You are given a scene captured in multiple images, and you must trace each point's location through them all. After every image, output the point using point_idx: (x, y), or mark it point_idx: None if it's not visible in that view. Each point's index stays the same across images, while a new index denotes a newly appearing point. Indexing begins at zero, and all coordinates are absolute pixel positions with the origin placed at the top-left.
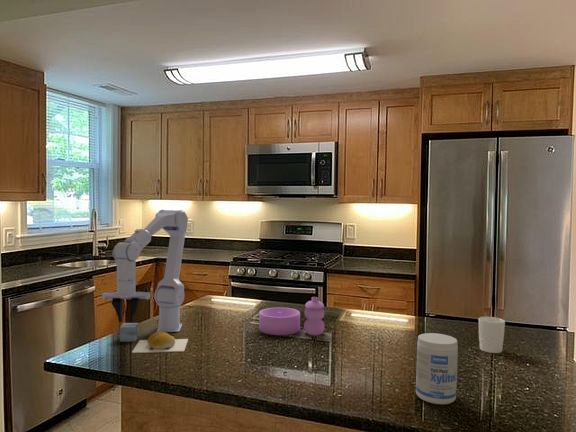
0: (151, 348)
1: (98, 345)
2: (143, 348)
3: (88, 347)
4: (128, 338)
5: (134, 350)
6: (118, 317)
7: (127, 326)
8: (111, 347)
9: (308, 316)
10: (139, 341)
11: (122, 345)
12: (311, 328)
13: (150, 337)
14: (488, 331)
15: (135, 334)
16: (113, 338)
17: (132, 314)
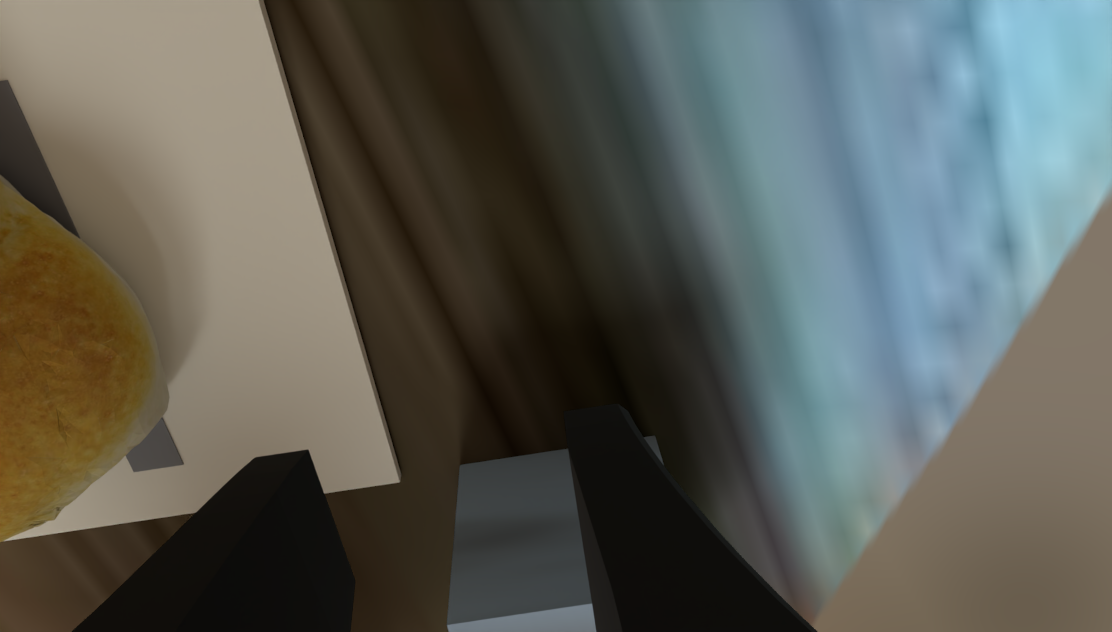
0: (13, 160)
1: (896, 281)
2: (149, 156)
3: (1017, 191)
4: (547, 479)
5: (243, 45)
6: (652, 475)
7: (587, 629)
8: (690, 213)
9: None
10: (379, 438)
11: (563, 304)
12: None
13: (29, 336)
14: None
15: (458, 539)
16: (772, 530)
17: (94, 621)
